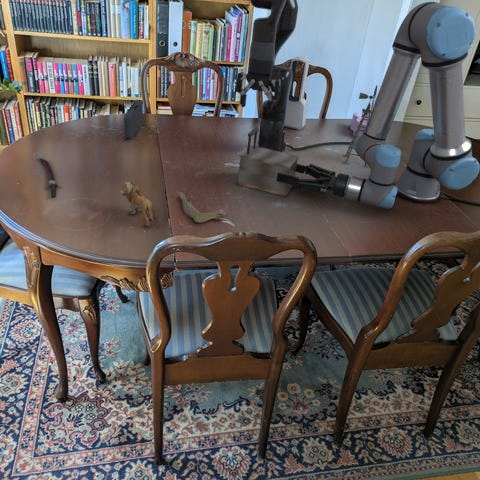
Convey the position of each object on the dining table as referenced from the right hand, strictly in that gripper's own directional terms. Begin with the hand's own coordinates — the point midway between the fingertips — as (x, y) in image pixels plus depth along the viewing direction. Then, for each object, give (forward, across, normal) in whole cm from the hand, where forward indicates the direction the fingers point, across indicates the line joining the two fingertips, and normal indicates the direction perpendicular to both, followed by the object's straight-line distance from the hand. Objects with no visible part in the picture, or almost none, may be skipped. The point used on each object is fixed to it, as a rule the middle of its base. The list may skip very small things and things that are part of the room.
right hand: (282, 171), depth 157 cm
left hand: (+12, 0, +19) cm, 22 cm away
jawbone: (+17, -27, -6) cm, 33 cm away
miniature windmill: (-19, +40, -6) cm, 45 cm away
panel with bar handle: (+5, 0, +4) cm, 7 cm away
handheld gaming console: (+69, +18, -6) cm, 72 cm away
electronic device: (+15, +64, -6) cm, 66 cm away
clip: (-18, +75, -6) cm, 77 cm away
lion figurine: (+30, -41, -6) cm, 51 cm away
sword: (+69, -34, -6) cm, 77 cm away
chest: (+5, 0, -6) cm, 8 cm away
